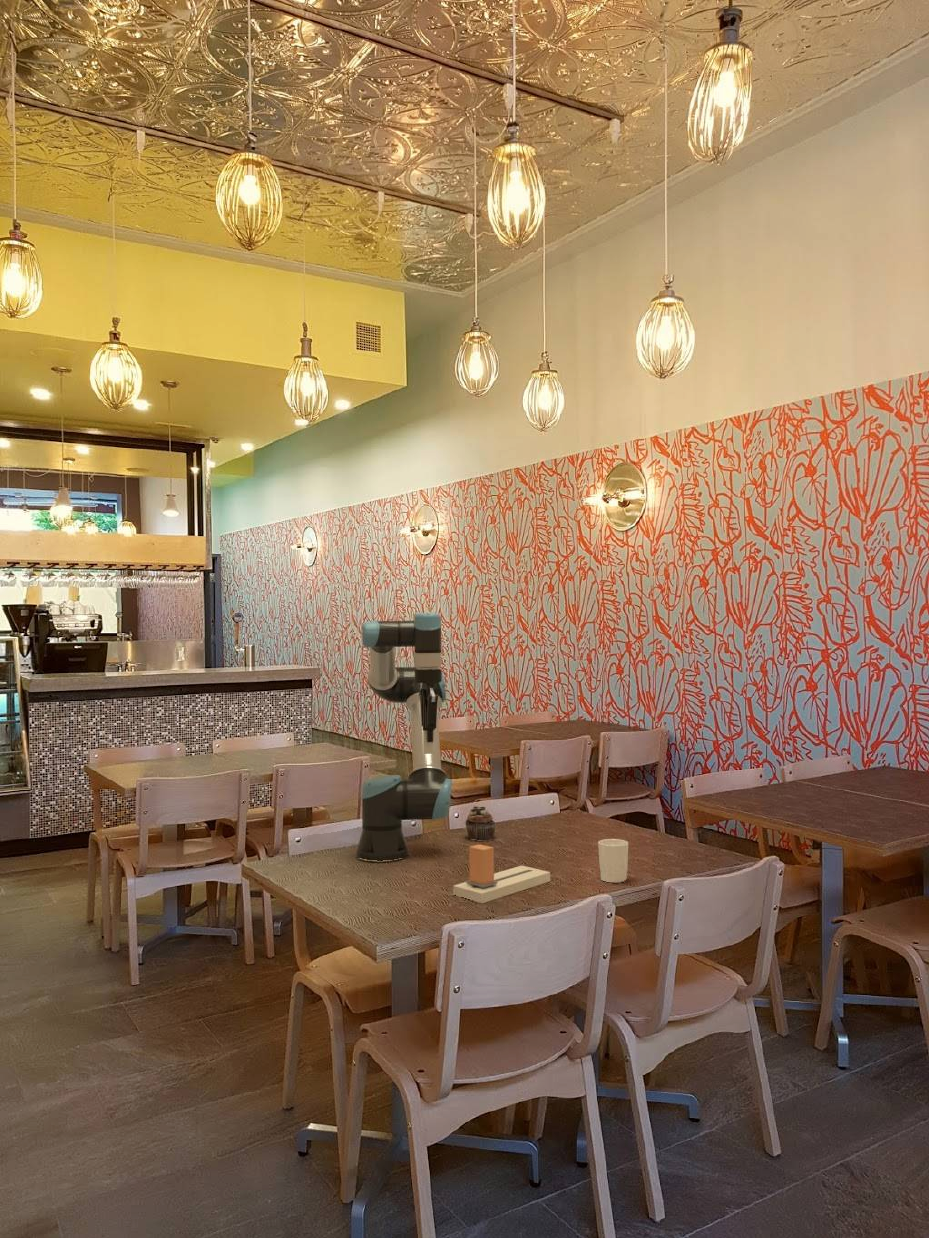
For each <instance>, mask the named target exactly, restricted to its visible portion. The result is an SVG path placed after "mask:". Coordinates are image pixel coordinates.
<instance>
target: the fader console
mask: <svg viewBox="0 0 929 1238" xmlns="http://www.w3.org/2000/svg"><path fill="white" fill-rule="evenodd" d="M494 881H497V884H495V885H492V886H488V887H485V888H482V887H478V886H475V885H471V884H467V883H466V881H465V882H460V883H457V884H453V885H452V888H453V889H452V891H453V892H452V893H453V894H452V895H453V896H454V895H456V896H455V897H457V896H458V898H461V897H464V898H463V899H465V898H467V899H466V900H468V899H470V900H469V901H472V900H473V901H472V902H476V903H479V904H484V903H488V902H491V901H494V900H497V899H500V898H504V897H506V896H510V895H512V894H515V893H518V892H521V891H524V890H528V889H531V888H534V887H537V886H540V885H544V884H546V883H549V882H551V871H547V870H542V869H540V868H539V869H538V868H534V867H529V866H526V865H518V866H515V867H512V868H508V869H505V870H502V871H499V872H494Z"/></svg>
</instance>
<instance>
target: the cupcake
mask: <svg viewBox="0 0 929 1238" xmlns="http://www.w3.org/2000/svg"><path fill="white" fill-rule="evenodd" d="M496 823H497V822H495V820H493V816H492V815H491V813H490V812H489V810H488V809H486V807H485V806H481V807H478V806H476V805H475V806H473V807H472V809H470V811H469V813H468V815H467V819H466V820H465V826H466V827H465V828H466V832H467V835H468V836H467V837H468V839H469V838H470V839H476V840H489V839H492V840H493V839H494V836H495V829H496V825H497V824H496ZM470 839H469V840H470ZM489 841H490V840H489Z"/></svg>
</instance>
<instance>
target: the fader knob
mask: <svg viewBox="0 0 929 1238" xmlns="http://www.w3.org/2000/svg"><path fill="white" fill-rule="evenodd" d="M468 849H469V851H468V852H469V855H468V857H469V860H468V861H469V879H468V880H466V881H465V882H466V883H467V884H471V885H475V886H478V887H482V888H485V887H488V886H492V885H495V884H497V881H494V874H495V860H494V859H495V858H494V857H495V856H494V854H495V853H494V851H495V850H494V849H495V848H494V847H493V846H488V845H483V844H480V843H479V844H475V845H471V846H469V847H468Z"/></svg>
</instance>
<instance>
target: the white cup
mask: <svg viewBox="0 0 929 1238" xmlns="http://www.w3.org/2000/svg"><path fill="white" fill-rule="evenodd" d="M597 848H598V861H599V870H600V872H599V873H600V881H601V880H603V881H606V882H621V881H624V880H626V879H628V878H627V877H628V867H629V865H628V864H629V862H628V861H629V841H627V840H626V839H625V840H623V839H617V838H605V839H601V840H598V842H597ZM603 881H602V882H603ZM606 882H605V883H606Z"/></svg>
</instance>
